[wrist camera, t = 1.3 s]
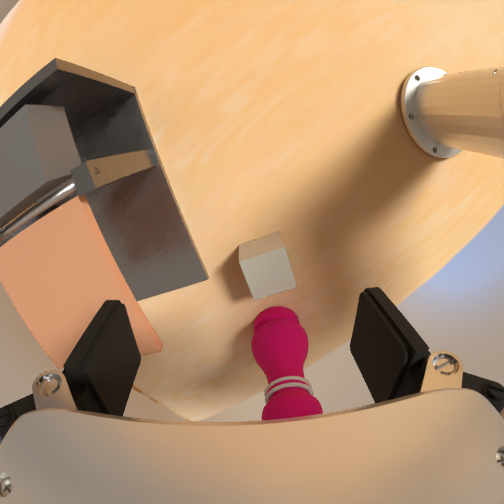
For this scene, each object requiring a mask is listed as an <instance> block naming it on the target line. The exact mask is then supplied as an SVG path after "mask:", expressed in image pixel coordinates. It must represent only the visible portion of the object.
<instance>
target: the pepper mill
mask: <svg viewBox="0 0 504 504" xmlns="http://www.w3.org/2000/svg"><path fill="white" fill-rule="evenodd" d="M254 333H255V334H254V335H253V338H252V343H251V346H252V352H253V356H254V358H255V360H256V362H257V363H258V365H259V366H260V367H261V369H262V370H263V371H264V373H265V375H266V377H267V380H268V386H267V387H266V389H265V402H266V406H265V407H264V409H263V412H262V420H274V419H285V418H294V417H302V416H310V415H317V414H323V411H322V407H321V404H320V403H319V401H318V400H317V399H316V398H315V397H314V396H313V392H312V389H311V384H310V383H309V381H308V380H306V379H305V378H304V373H303V364H304V361H305V359H306V356H307V353H308V338H307V334H306V332H305V330H304V329H303V328H302V327H301V326H300V324H299V320H298V317H297V315H296V314H295V313H294V312H293V311H292V310H290V309H288V308H285V307H278V306H277V307H271V308H268V309H266V310H264V311H262V312H261V313H260V314H259V315H258V316H257V318H256V320H255V322H254Z"/></svg>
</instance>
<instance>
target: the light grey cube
mask: <svg viewBox="0 0 504 504" xmlns="http://www.w3.org/2000/svg"><path fill="white" fill-rule="evenodd" d="M239 264H240V266H241V269H242V271H243V274H244V276H245V279H246V282H247V284H248V287H249V289H250V292H251V294H252V297H253V299H254V300H258V299H261V298H264V297H267V296H271V295H274V294H277V293H280V292H283V291H287V290H290V289H293V288H296V287H297V285H296V281H295V278H294V275H293V271H292V268H291V265H290V261H289V258H288V255H287V252H286V248H285V246H284V243H283V241H282V238H281V235H280V233H279V232H277V233H274V234H270V235H267V236H264V237H261V238H258V239H255V240H252V241H249V242H246V243H243V244H240V245H239Z"/></svg>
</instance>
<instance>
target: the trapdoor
mask: <svg viewBox="0 0 504 504" xmlns="http://www.w3.org/2000/svg"><path fill="white" fill-rule="evenodd" d="M80 164H82V163H81V160H80V157H79V154H78V151H77V148H76V145H75V142H74V139H73V136H72V133H71V130H70V127H69V123H68V120H67V116H66V113H65V109H64V107H62V106H48V105H27V104H25V105H24V106H23V107H22V108H21V109H20V110H19V111H18V112H17V113H15V114H14V115H13V116H12V117H11V118H10V119H9V120H8V121H7V122H6V123H5V124H4V125H3V126H2V127H1V128H0V228H2V227H3V226H4V225H6V224H7V223H8V222H9V221H11V220H12V219H13V218H14V217H16V216H17V215H18V214H20V213H21V212H22V211H24V210H25V209H26V208H28V207H29V206H30V205H32V204H33V203H35V202H36V201H37V200H39V199H40V198H42V197H43V196H44V195H46V194H47V193H49V192H50V191H52V190H53V189H55V188H56V187H58V186H59V185H61V184H62V183H64V182H66V181H67V180H69V179H70V178H72V175H71V173H70V171H71V170H72V169H74V168H75V167H77V166H79V165H80ZM0 281H1V282H2V284H3V286H4V288H5V290H6V292H7V293H8V295H9V297H10V299H11V301H12V302H13V304H14V306H15V307H16V309H17V311H18V312H19V314H20V316H21V317H22V319H23V320H24V322H25V324H26V325H27V327H28V328H29V330H30V331H31V332H32V334H33V335H34V337H35V338H36V340H37V341H38V343H39V344H40V345H41V347H42V348H43V350H44V351H45V352H46V354H47V355H48V356H49V358H50V359H51V360H52V361H53V363H54V364H55V365H56V366H57V368H58V369H60V368H64V367H63V365H64V363H65V362H66V360H67V358H68V357H69V355H70V354H71V352H72V350H73V349H74V347H75V345H76V344H77V342H78V341H79V339H80V338H81V336H82V334H83V333H84V331H85V330H86V328H87V327H88V325H89V324H90V322H91V321H92V319H93V318H94V316H95V315H96V313H97V312H98V310H99V309H100V307H101V306H102V305H103V303H104V302H105V301H106V300H120V301H121V303H122V304H125V306H126V310H127V313H128V317H129V320H130V324H131V327H132V330H133V333H134V337H135V340H136V343H137V346H138V349H139V352H140V355H146V354H151V353H156V352H160V351H161V348H162V345H163V343H162V342H161V340H160V339H159V337H158V336H157V334H156V332H155V331H154V329H153V328H152V326H151V324H150V323H149V321H148V319H147V318H146V316H145V314H144V313H143V311H142V309H141V308H140V306H139V304H138V302H137V301H136V299H135V297H134V295H133V294H132V292H131V290H130V288H129V286H128V285H127V283H126V281H125V279H124V277H123V275H122V273H121V272H120V270H119V268H118V266H117V264H116V262H115V260H114V258H113V256H112V254H111V252H110V250H109V248H108V246H107V244H106V242H105V239H104V237H103V235H102V233H101V231H100V229H99V226H98V224H97V222H96V220H95V218H94V215H93V213H92V211H91V208H90V206H89V204H88V201H87V199H86V196H85V195H84V196H82V197H80V196H79V195H78V196H76V197H75V198H73V199H71V200H70V201H68V202H66V203H65V204H63V205H61V206H60V207H58V208H56V209H55V210H53V211H52V212H50V213H48V214H47V215H45V216H44V217H42V218H41V219H39V220H38V221H36V222H35V223H33V224H32V225H30V226H29V227H27V228H26V229H24V230H23V231H22V232H20V233H19V234H17V235H16V236H15V237H13V238H12V239H10V240H9V241H8V242H6V243H5V244H4V245H2V246H1V247H0Z"/></svg>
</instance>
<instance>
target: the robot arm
mask: <svg viewBox="0 0 504 504" xmlns="http://www.w3.org/2000/svg"><path fill="white" fill-rule="evenodd" d="M401 111H402V116H403V120H404V123H405V125H406V128H407V130H408V132H409V134H410V136H411V137H412V139H413V140H414V141H415V143H416V144H417V145H418V146H419V147H420V148H421V149H422V150H423V151H425V152H426V153H428V154H430V155H432V156H435V157H439V158H450V157H454V156H455V155H457V154H459V153H460V152H461V151H462V150H466V151H472V152H477V153H482V154H487V155H491V156H496V157H500V158H504V67H499V68H489V69H480V70H473V71H466V72H459V73H453V74H448V73H447V72H445V71H443V70H442V69H439V68H436V67H429V66H428V67H422V68H419V69H416V70H415V71H413V72H412V73H411V74H410V75H409V76H408V77H407V78H406V80H405V82H404V84H403V88H402V92H401ZM428 349H429V347H428V346H427V344H426V343H425V342H424V341H423V339H422V338H421V337H420V336H419V334H418V333H417V332H416V331H415V329H414V328H413V327H412V326H411V324H410V323H409V322H408V321H407V319H406V318H405V317H404V316H403V315H402V313H401V312H400V311H399V310H398V309H397V307H396V306H395V305H394V304H393V303H392V301H391V300H390V299H389V298H388V297H387V296H386V294H385V293H384V292H383V291H382V290H381V289H380V288H379V287H374V288H366V289H365V290H364V292H362V293H361V294H360V297H359V303H358V308H357V314H356V319H355V324H354V329H353V333H352V338H351V343H350V350H351V353H352V355H353V357H354V359H355V361H356V363H357V365H358V368H359V370H360V372H361V374H362V376H363V378H364V380H365V382H366V384H367V386H368V389H369V391H370V392H371V395H372V397H373V399H374V401H375V404H370V405H366V406H361V407H356V408H352V409H346V410H341V411H336V412H330V413H324V414H317V415H310V416H302V417H294V418H285V419H274V420H262V421H246V422H245V421H244V422H182V421H181V422H180V421H164V420H151V419H141V418H132V417H123V413H124V410H125V407H126V404H127V401H128V398H129V394H130V391H131V388H132V385H133V382H134V379H135V377H136V374H137V371H138V368H139V365H140V362H141V355H140V352H139V349H138V346H137V343H136V340H135V337H134V333H133V330H132V327H131V324H130V320H129V317H128V313H127V310H126V306H125V304H122V303H121V301H120V300H106V301H105V302H104V303H103V305H102V306H101V307H100V309H99V310H98V312H97V313H96V315H95V316H94V318H93V319H92V321H91V322H90V324H89V325H88V327H87V328H86V330H85V331H84V333H83V334H82V336H81V338H80V339H79V341H78V342H77V344H76V345H75V347H74V349H73V350H72V352H71V354H70V355H69V357H68V358H67V360H66V362H65V363H64V365H63V367H64V370H63V372H62V373H61V372H60V371H57V370H49V371H45V372H44V373H42V374H40V375H39V376H38V377H37V378H36V379H35V381H34V383H33V386H32V391H33V394H31V395H29V396H26V397H24V398H22V399H20V400H17V401H15V402H13V403H11V404H9V405H6V406H4V407H2V408H0V504H504V387H503V386H502V385H501V384H499V383H497V382H494V381H491V380H487V379H484V378H481V377H478V376H475V375H472V374H468V373H465V372H463V365H462V362H461V360H460V359H459V358H458V357H457V356H456V355H454V354H452V353H450V352H447V351H437V352H434V353H432V354H430V352H429V351H428Z"/></svg>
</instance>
